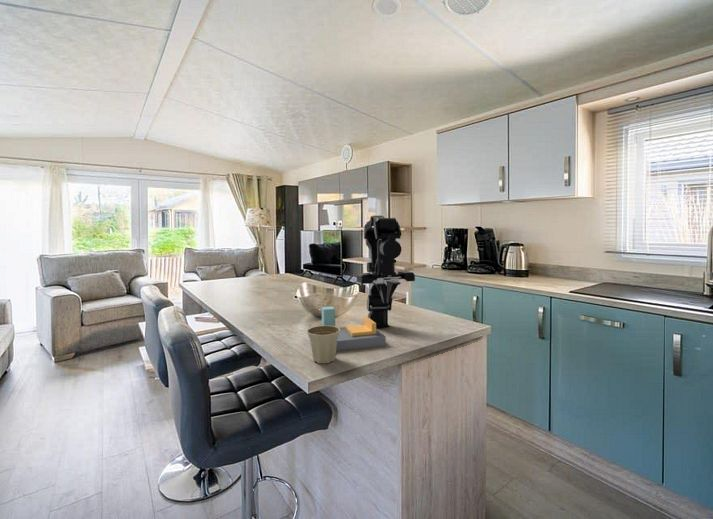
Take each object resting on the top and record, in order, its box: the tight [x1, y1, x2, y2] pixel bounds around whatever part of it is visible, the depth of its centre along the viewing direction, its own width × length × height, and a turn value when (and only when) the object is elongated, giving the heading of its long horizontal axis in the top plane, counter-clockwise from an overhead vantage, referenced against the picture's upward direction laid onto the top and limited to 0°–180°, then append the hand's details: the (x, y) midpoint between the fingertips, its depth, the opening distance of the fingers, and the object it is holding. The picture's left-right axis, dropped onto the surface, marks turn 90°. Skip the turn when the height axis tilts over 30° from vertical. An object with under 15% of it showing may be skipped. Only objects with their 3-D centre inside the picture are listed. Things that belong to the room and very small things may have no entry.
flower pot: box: [306, 325, 341, 364], centre depth 102 cm, size 9×9×9 cm
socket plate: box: [336, 326, 386, 352], centre depth 118 cm, size 20×14×3 cm
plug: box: [320, 306, 336, 327], centre depth 128 cm, size 4×4×9 cm
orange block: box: [344, 316, 377, 336], centre depth 119 cm, size 8×8×4 cm
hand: (386, 302), depth 121 cm, fingers closed
